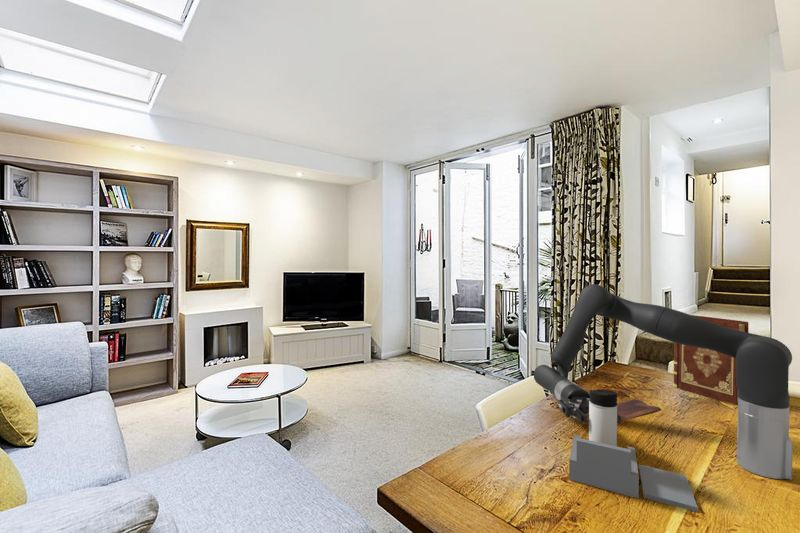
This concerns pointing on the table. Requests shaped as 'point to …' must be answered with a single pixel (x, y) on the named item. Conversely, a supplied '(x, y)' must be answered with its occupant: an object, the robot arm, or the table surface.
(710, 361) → the decorative book
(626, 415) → the wooden tablet
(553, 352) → the robot arm
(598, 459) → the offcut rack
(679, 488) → the slate tile
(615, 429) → the travel mug
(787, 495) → the table surface
